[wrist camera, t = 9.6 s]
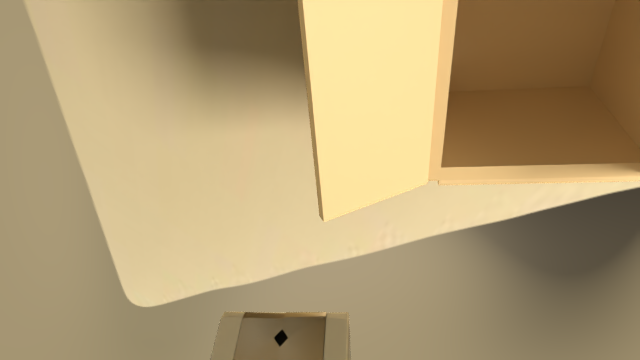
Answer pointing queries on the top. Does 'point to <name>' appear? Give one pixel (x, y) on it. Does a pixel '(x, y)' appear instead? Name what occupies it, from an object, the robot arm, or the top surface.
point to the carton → (537, 92)
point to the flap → (369, 96)
